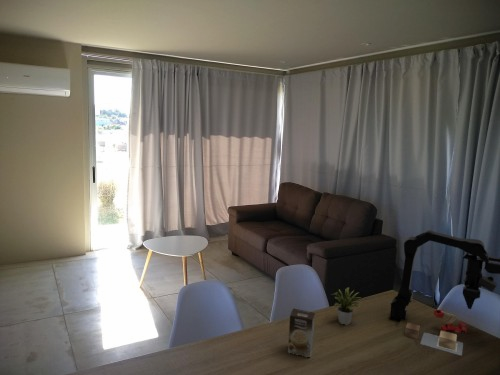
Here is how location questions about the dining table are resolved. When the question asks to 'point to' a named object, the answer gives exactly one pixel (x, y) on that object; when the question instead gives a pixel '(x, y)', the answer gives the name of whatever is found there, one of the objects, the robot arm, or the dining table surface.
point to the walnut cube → (412, 330)
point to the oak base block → (447, 340)
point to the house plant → (346, 306)
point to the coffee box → (301, 332)
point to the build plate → (434, 342)
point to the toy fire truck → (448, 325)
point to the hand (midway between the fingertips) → (469, 304)
